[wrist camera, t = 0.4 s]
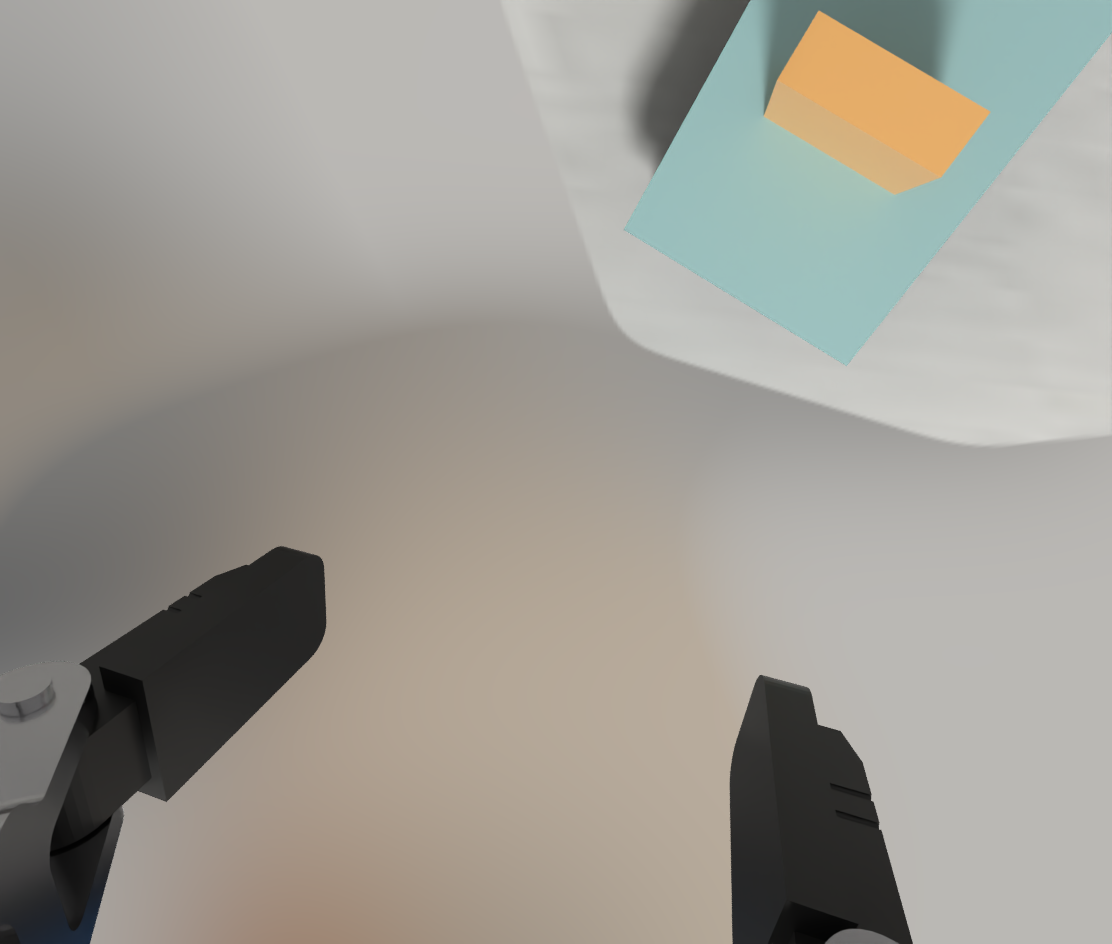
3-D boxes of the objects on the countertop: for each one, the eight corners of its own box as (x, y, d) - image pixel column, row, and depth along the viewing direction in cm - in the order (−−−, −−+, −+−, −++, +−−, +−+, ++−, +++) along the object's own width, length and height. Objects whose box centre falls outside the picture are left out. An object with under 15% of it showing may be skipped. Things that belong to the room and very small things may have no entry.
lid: (833, -132, 22) (886, -303, 15) (1098, 22, 21) (1271, -85, 15) (630, 232, 28) (605, 222, 21) (836, 358, 27) (876, 388, 21)
